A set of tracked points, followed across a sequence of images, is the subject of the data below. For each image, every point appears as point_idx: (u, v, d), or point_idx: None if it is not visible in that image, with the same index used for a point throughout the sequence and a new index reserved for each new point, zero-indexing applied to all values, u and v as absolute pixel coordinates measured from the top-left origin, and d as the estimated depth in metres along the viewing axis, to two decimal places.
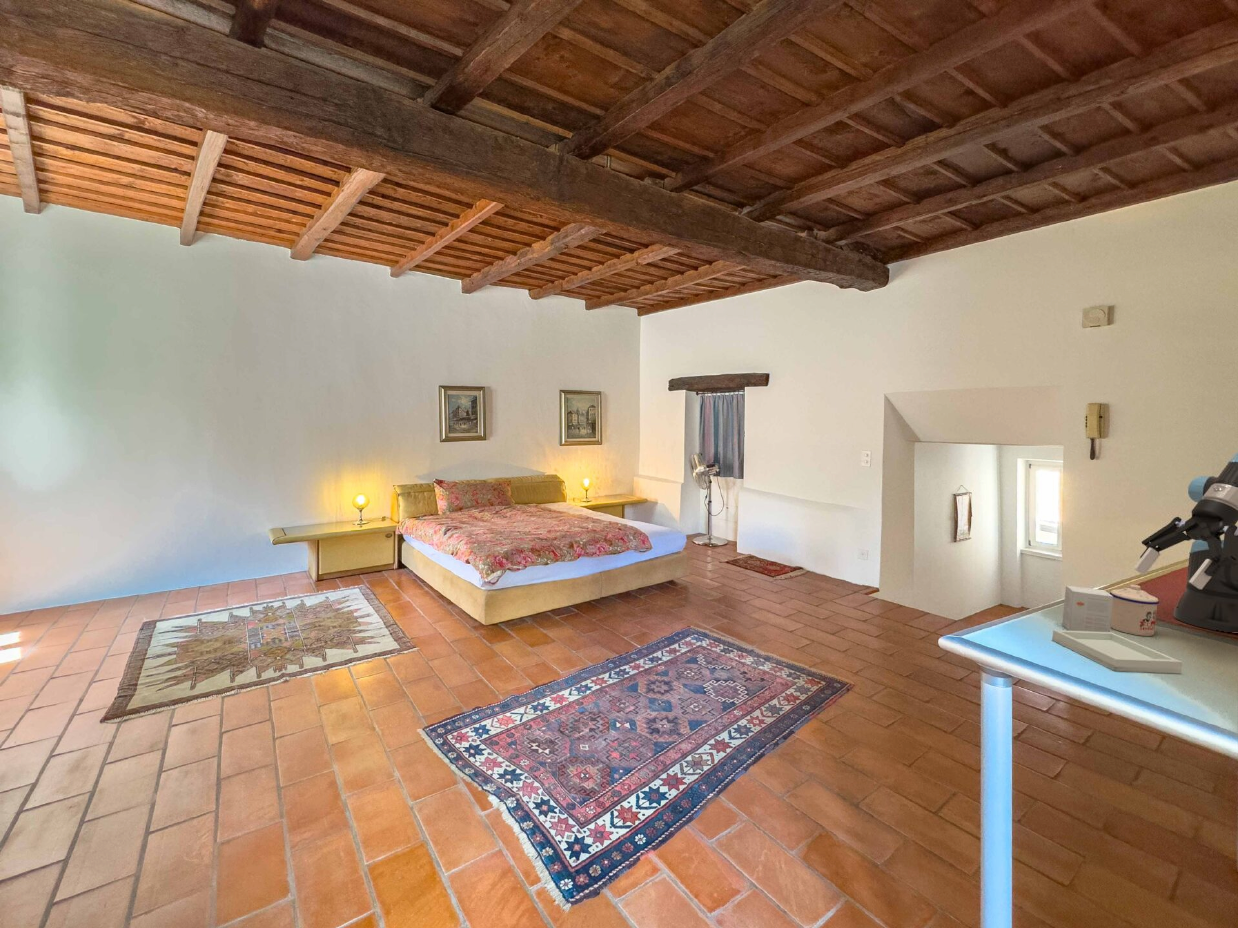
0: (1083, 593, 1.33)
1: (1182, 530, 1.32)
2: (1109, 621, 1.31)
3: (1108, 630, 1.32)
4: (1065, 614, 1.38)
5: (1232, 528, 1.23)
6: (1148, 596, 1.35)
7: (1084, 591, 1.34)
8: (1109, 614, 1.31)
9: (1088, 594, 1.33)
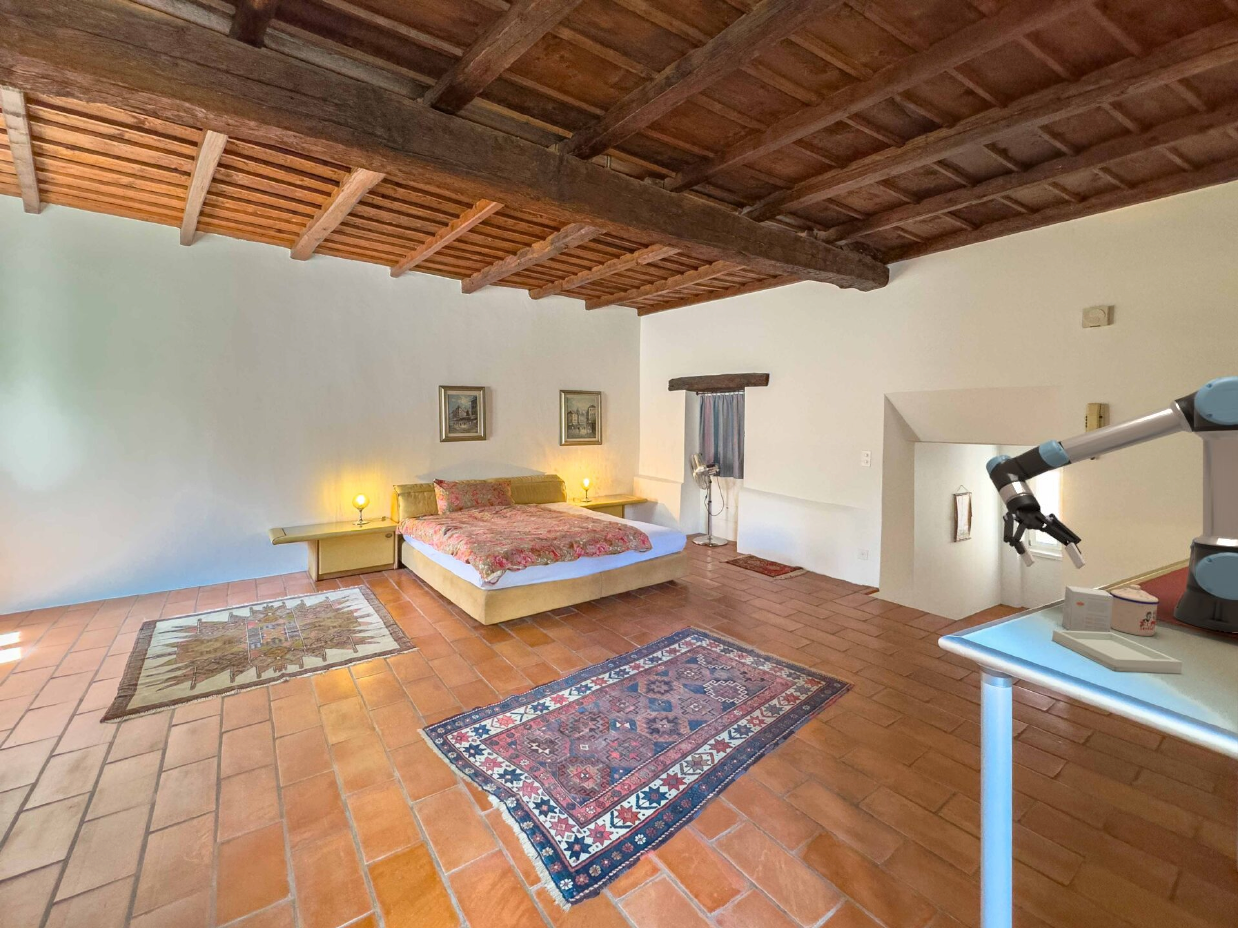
0: (1083, 593, 1.33)
1: (1039, 529, 1.54)
2: (1109, 621, 1.31)
3: (1108, 630, 1.32)
4: (1065, 614, 1.38)
5: None
6: (1148, 596, 1.35)
7: (1084, 591, 1.34)
8: (1109, 614, 1.31)
9: (1088, 594, 1.33)
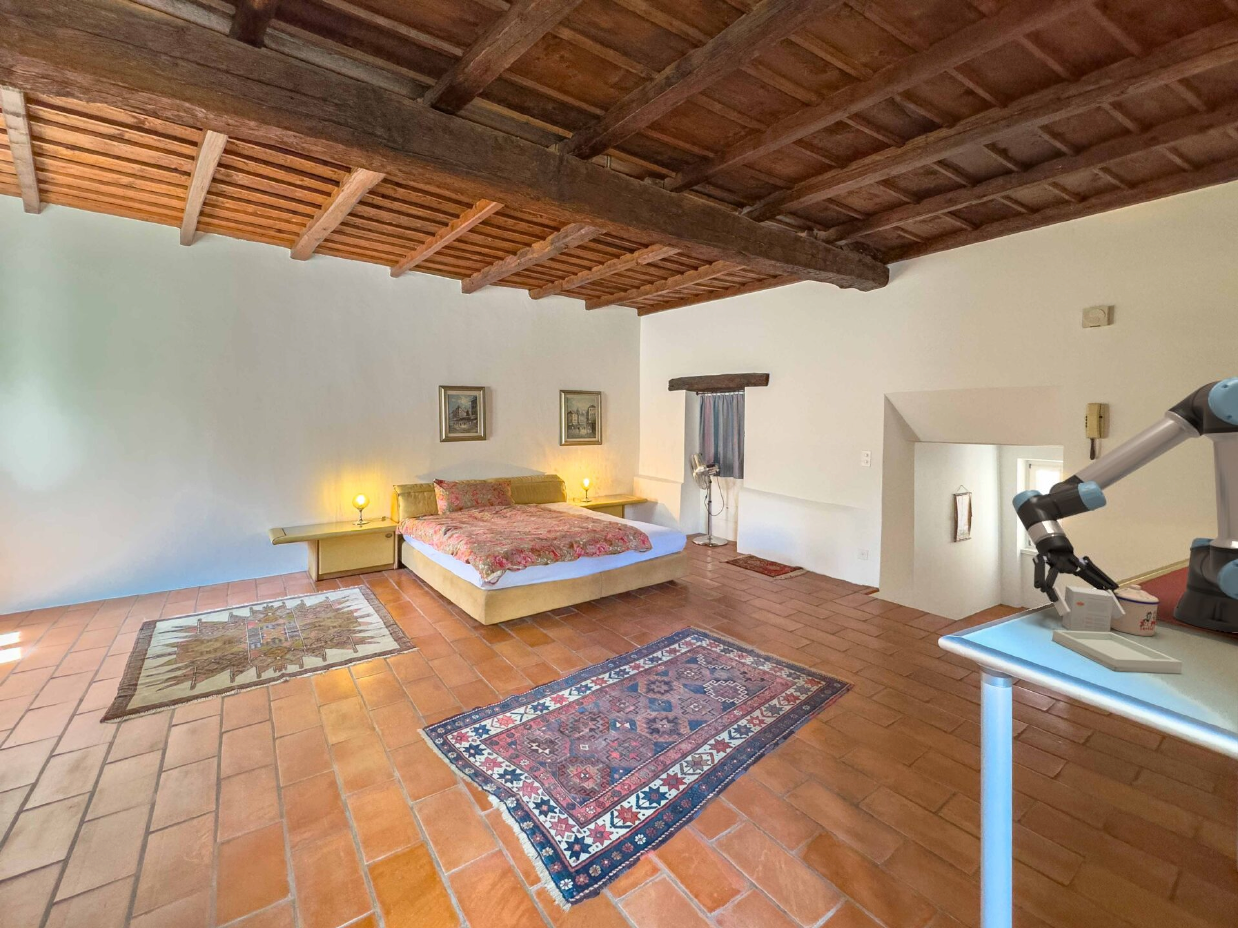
0: (1083, 593, 1.33)
1: None
2: (1109, 621, 1.31)
3: (1108, 630, 1.32)
4: None
5: None
6: (1148, 596, 1.35)
7: (1084, 591, 1.34)
8: (1109, 614, 1.31)
9: (1088, 594, 1.33)
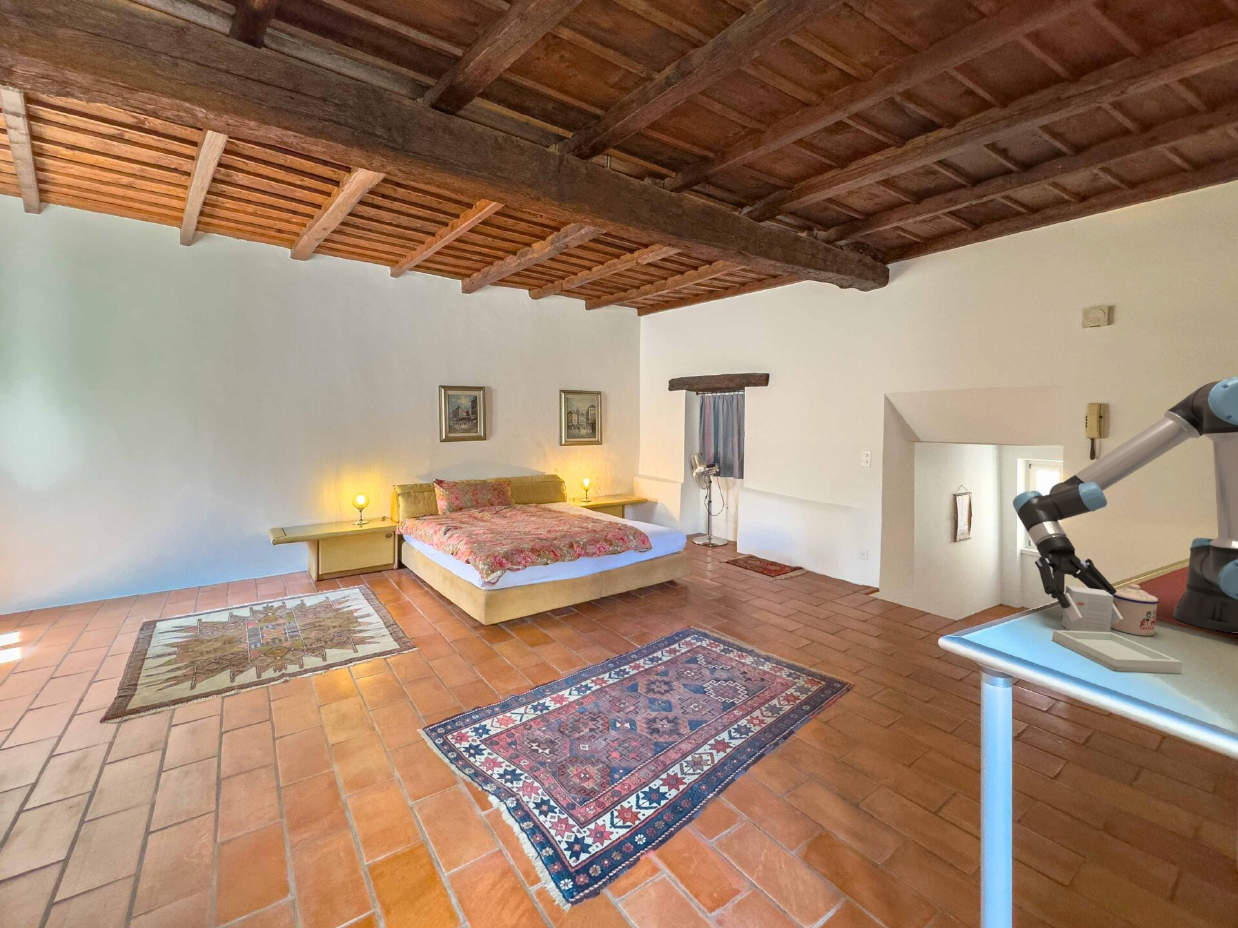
0: (1083, 593, 1.33)
1: (1072, 574, 1.42)
2: (1109, 621, 1.31)
3: (1108, 630, 1.32)
4: (1065, 614, 1.38)
5: None
6: (1148, 596, 1.35)
7: (1084, 591, 1.34)
8: (1109, 614, 1.31)
9: (1088, 594, 1.33)
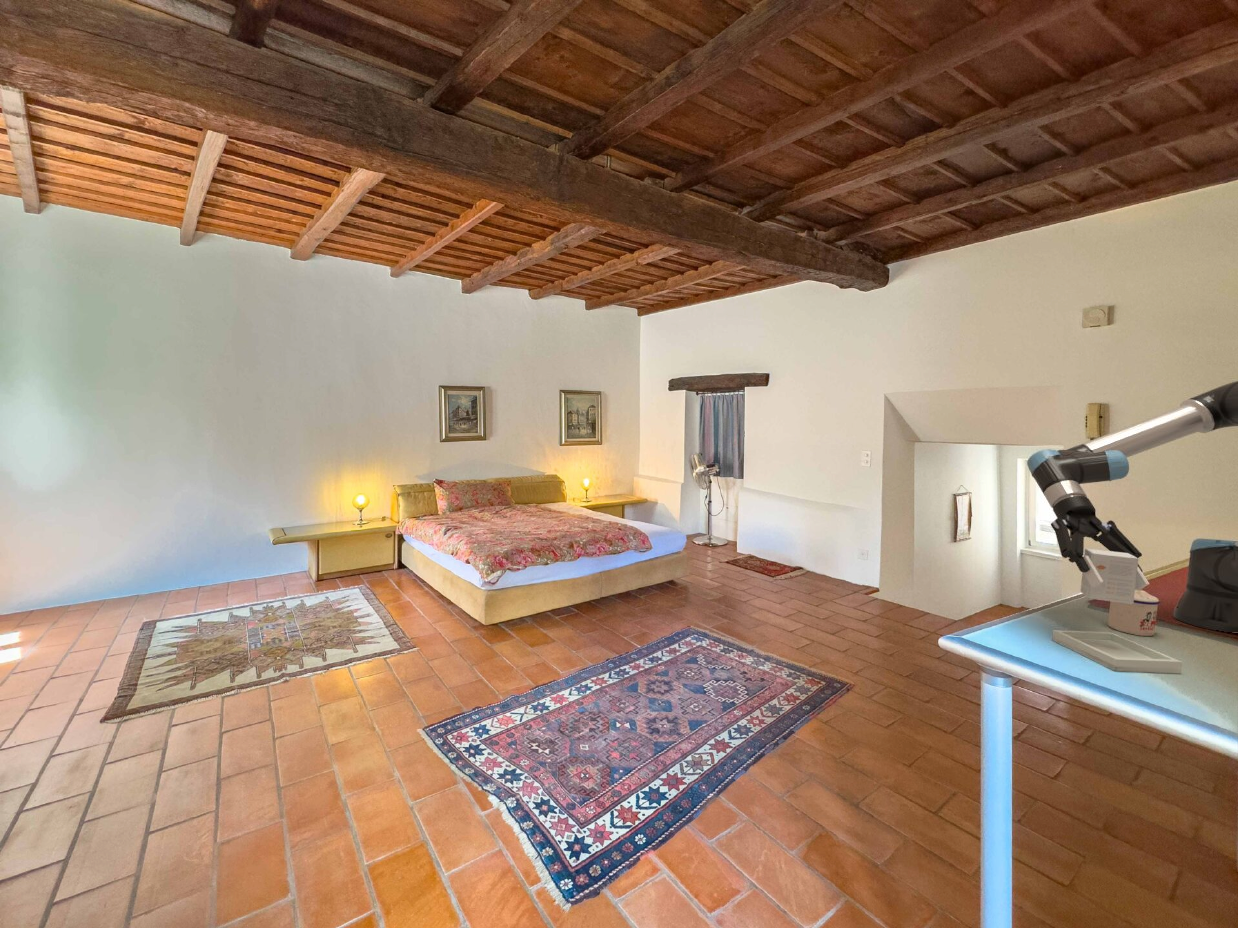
0: (1104, 555, 1.21)
1: (1092, 537, 1.30)
2: (1133, 586, 1.19)
3: (1132, 596, 1.19)
4: (1084, 579, 1.25)
5: None
6: (1148, 596, 1.35)
7: (1106, 553, 1.21)
8: (1133, 578, 1.19)
9: (1110, 556, 1.20)
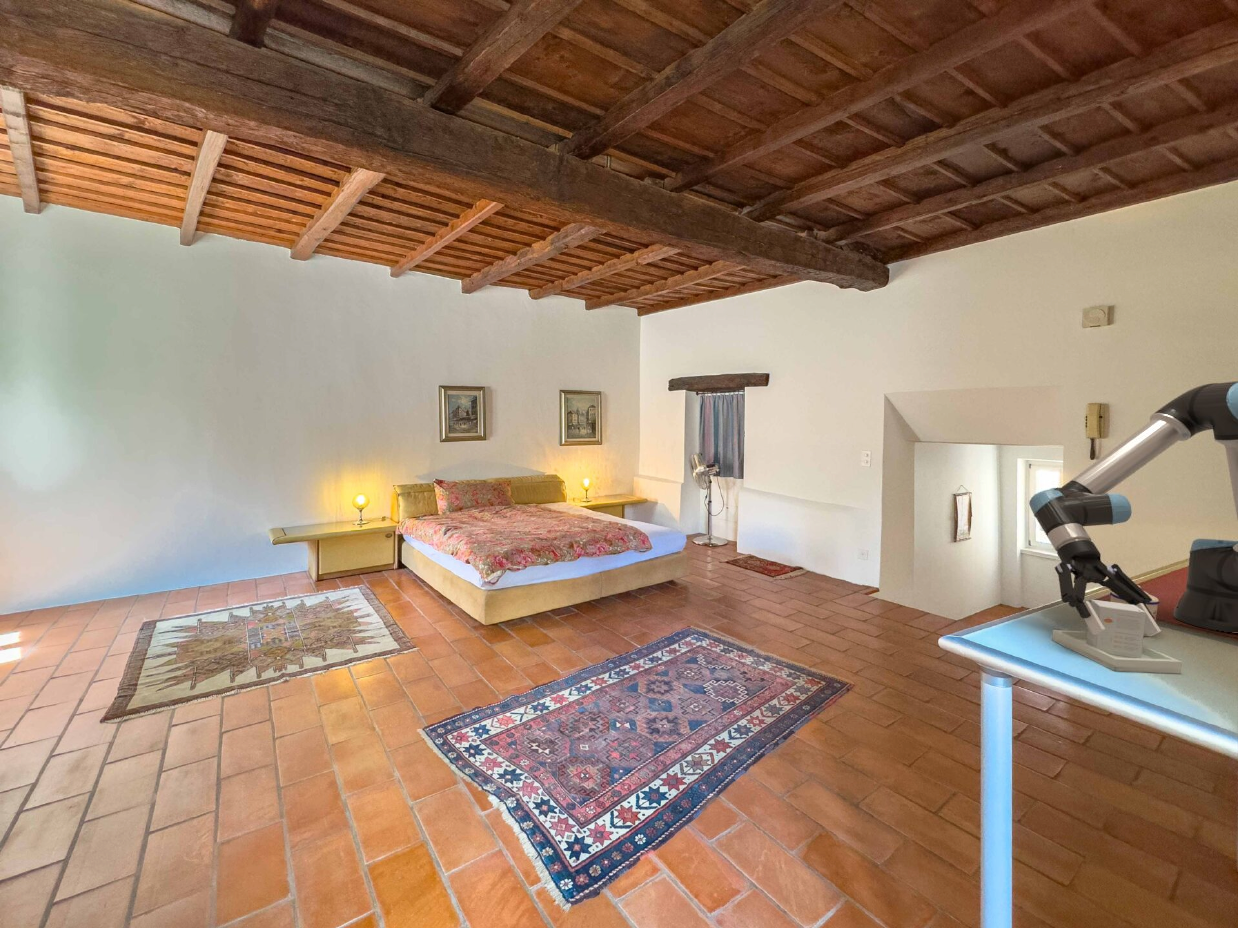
0: (1111, 608, 1.18)
1: (1098, 582, 1.27)
2: (1141, 640, 1.16)
3: (1140, 650, 1.17)
4: (1090, 631, 1.23)
5: None
6: None
7: (1112, 606, 1.19)
8: (1141, 632, 1.16)
9: (1117, 610, 1.18)
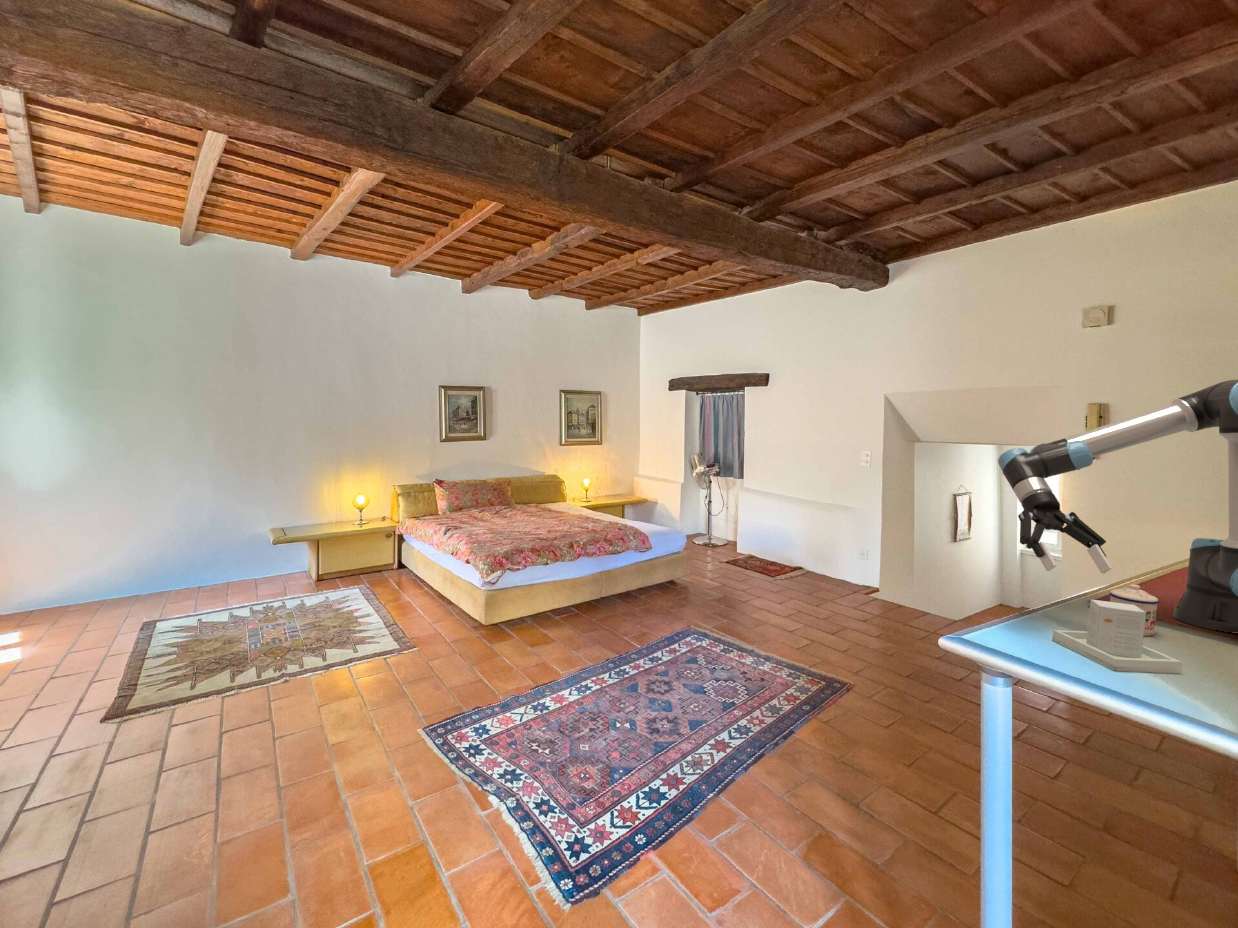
0: (1111, 608, 1.18)
1: (1058, 529, 1.40)
2: (1141, 640, 1.16)
3: (1140, 650, 1.17)
4: (1090, 631, 1.23)
5: None
6: (1147, 596, 1.35)
7: (1112, 606, 1.19)
8: (1141, 632, 1.16)
9: (1117, 610, 1.18)
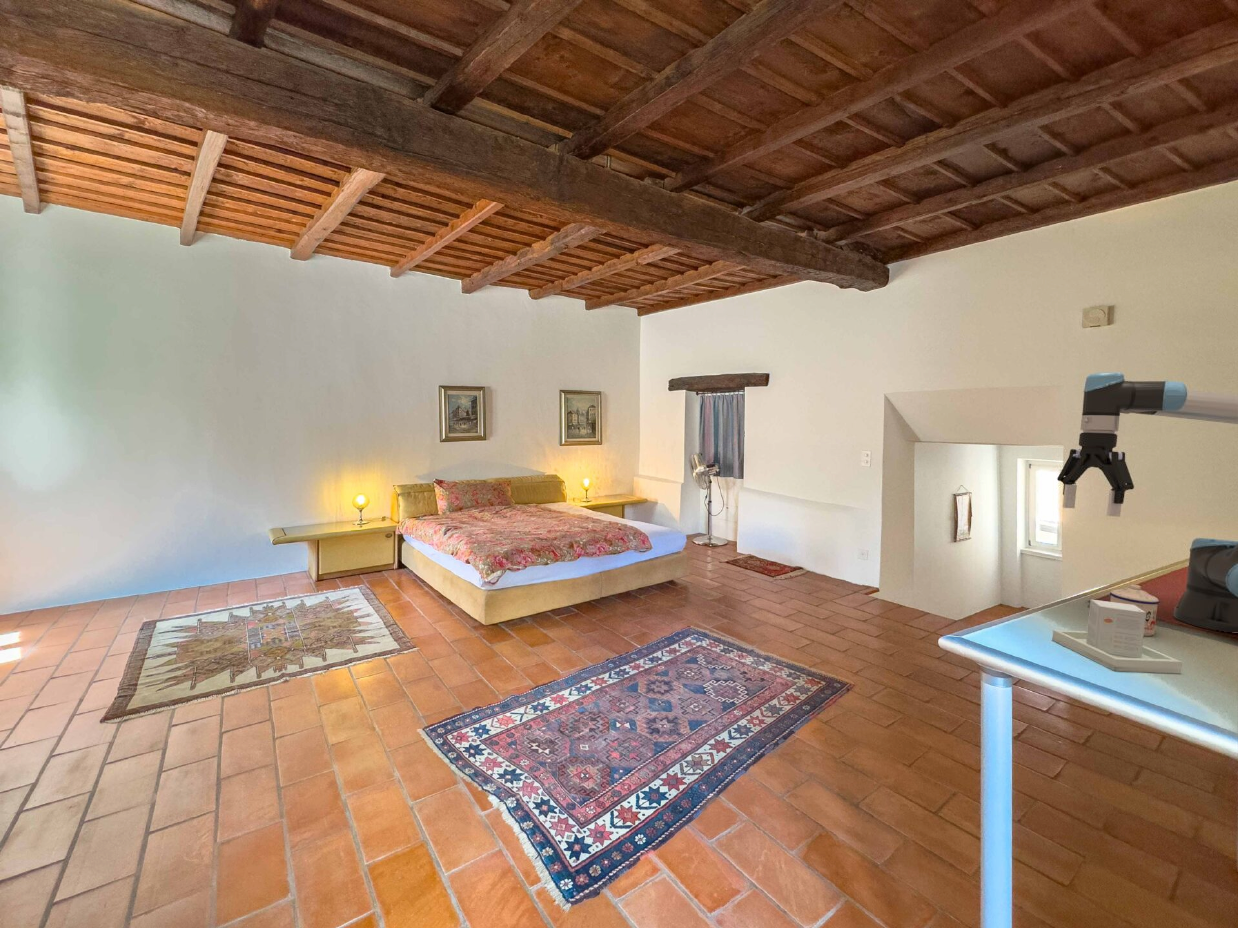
0: (1111, 608, 1.18)
1: (1081, 463, 1.46)
2: (1141, 640, 1.16)
3: (1140, 650, 1.17)
4: (1090, 631, 1.23)
5: (1115, 456, 1.37)
6: (1148, 596, 1.35)
7: (1112, 606, 1.19)
8: (1141, 632, 1.16)
9: (1117, 610, 1.18)
